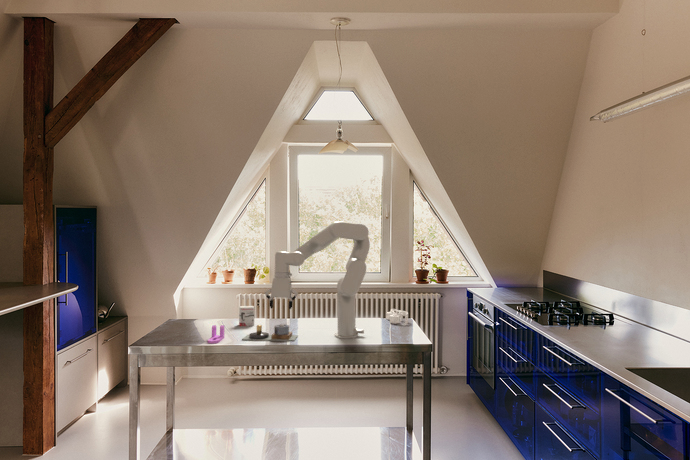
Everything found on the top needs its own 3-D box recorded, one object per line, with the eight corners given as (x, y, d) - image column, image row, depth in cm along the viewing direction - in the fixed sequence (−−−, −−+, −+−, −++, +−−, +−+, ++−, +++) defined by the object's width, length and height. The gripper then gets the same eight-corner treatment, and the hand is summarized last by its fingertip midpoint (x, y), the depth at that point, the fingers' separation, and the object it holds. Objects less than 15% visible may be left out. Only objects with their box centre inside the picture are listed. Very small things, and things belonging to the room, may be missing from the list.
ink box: (239, 327, 271) (239, 307, 271) (239, 326, 276) (239, 306, 276) (254, 327, 273) (254, 306, 273) (253, 325, 278) (254, 305, 278)
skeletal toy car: (385, 320, 295) (385, 309, 295) (402, 320, 296) (402, 308, 296) (391, 326, 275) (391, 314, 275) (409, 326, 276) (409, 314, 276)
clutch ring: (290, 332, 246) (290, 324, 246) (287, 335, 239) (287, 327, 239) (276, 331, 247) (276, 324, 247) (273, 334, 239) (273, 327, 239)
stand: (292, 335, 247) (292, 323, 247) (288, 339, 238) (288, 327, 238) (275, 335, 248) (275, 323, 248) (271, 339, 239) (271, 326, 239)
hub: (270, 335, 248) (270, 323, 248) (266, 339, 238) (266, 327, 238) (252, 334, 249) (252, 323, 249) (247, 338, 239) (247, 327, 239)
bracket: (213, 338, 244) (213, 324, 245) (224, 338, 245) (224, 324, 245) (206, 343, 231) (206, 329, 232) (217, 343, 232) (217, 329, 232)
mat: (298, 336, 248) (298, 335, 248) (294, 341, 237) (294, 339, 237) (247, 335, 250) (247, 334, 250) (241, 340, 239) (241, 339, 239)
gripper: (299, 275, 246) (298, 308, 246) (267, 274, 247) (266, 306, 247) (297, 276, 239) (296, 310, 238) (263, 275, 240) (262, 308, 240)
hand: (280, 308), depth 243 cm, fingers open, 9 cm apart
